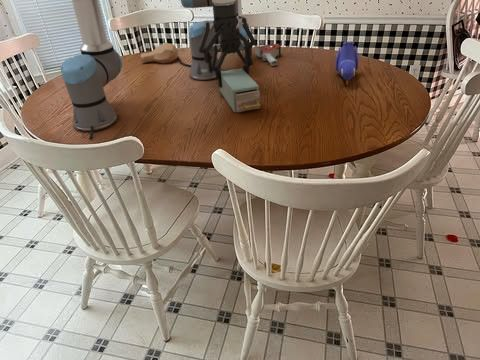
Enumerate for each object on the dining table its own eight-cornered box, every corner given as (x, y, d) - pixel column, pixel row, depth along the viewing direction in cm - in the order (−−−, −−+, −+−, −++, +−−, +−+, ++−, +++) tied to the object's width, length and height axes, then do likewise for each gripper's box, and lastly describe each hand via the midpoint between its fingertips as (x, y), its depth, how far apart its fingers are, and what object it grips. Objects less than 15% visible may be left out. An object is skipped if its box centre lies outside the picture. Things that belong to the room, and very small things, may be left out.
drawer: (264, 113, 130) (264, 96, 126) (241, 118, 128) (240, 100, 124) (244, 89, 149) (243, 73, 145) (223, 92, 148) (222, 77, 144)
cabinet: (259, 107, 136) (258, 86, 131) (234, 112, 134) (232, 90, 129) (242, 88, 153) (241, 68, 148) (220, 91, 151) (218, 71, 146)
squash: (179, 63, 185) (174, 47, 178) (142, 70, 187) (136, 55, 180) (180, 53, 192) (175, 37, 186) (145, 60, 194) (139, 45, 188)
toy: (333, 78, 167) (335, 88, 145) (335, 40, 160) (337, 44, 138) (355, 78, 165) (360, 87, 142) (358, 39, 158) (364, 43, 136)
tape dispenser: (274, 70, 173) (292, 55, 185) (274, 59, 169) (292, 45, 182) (243, 64, 180) (262, 50, 193) (243, 53, 177) (262, 40, 189)
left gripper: (257, -3, 119) (259, 60, 132) (183, 5, 114) (193, 70, 127) (264, 0, 113) (265, 66, 126) (187, 9, 109) (196, 77, 121)
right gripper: (254, 22, 140) (255, 77, 153) (198, 29, 135) (204, 85, 148) (260, 26, 134) (261, 83, 147) (202, 34, 129) (208, 92, 142)
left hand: (229, 68), depth 126 cm, fingers open, 13 cm apart
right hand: (233, 84), depth 148 cm, fingers closed on cabinet, 10 cm apart
